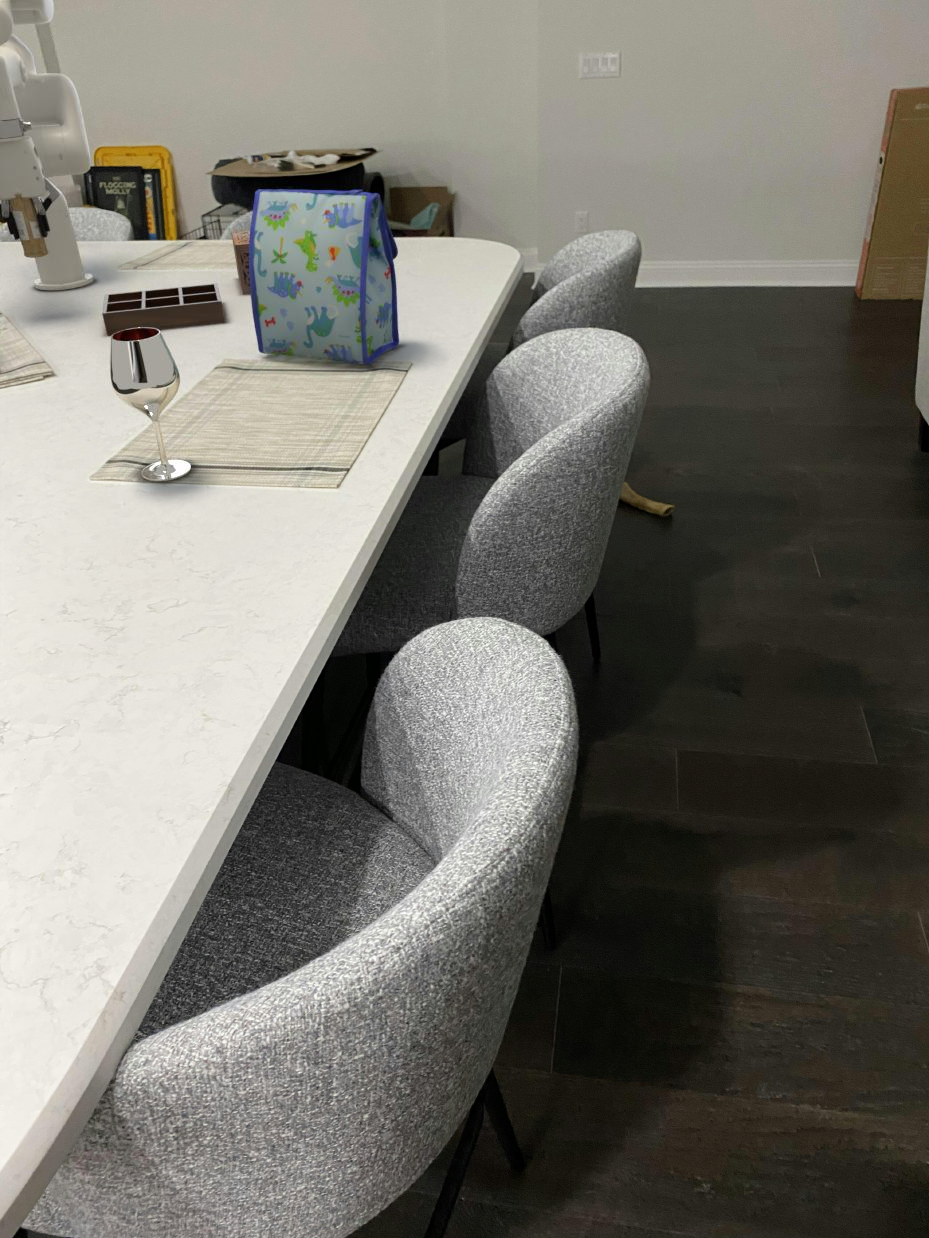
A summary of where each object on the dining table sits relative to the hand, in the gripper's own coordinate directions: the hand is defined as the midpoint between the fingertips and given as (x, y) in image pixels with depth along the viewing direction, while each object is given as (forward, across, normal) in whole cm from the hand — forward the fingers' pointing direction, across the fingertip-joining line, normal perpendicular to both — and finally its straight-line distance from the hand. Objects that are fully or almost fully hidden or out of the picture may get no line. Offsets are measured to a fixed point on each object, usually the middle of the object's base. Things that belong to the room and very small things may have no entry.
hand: (31, 236), depth 178 cm
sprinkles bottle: (+4, 0, 0) cm, 4 cm away
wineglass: (+14, -21, +86) cm, 90 cm away
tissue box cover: (+16, -51, -10) cm, 54 cm away
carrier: (+15, -22, +10) cm, 29 cm away
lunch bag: (+15, -50, +43) cm, 68 cm away
